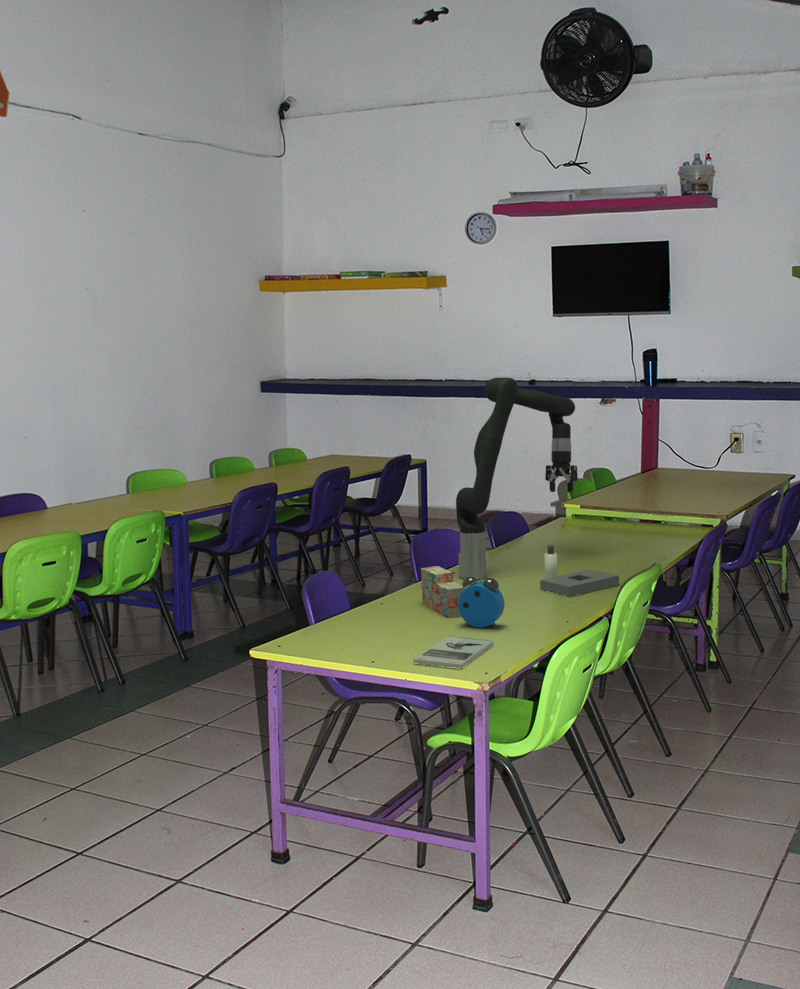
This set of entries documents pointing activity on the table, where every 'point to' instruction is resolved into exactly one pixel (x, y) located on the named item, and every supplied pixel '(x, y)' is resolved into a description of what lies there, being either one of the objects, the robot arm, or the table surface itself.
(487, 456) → the robot arm
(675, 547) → the table surface
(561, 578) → the socket plate
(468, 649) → the book
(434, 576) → the stack of blocks
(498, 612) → the alarm clock
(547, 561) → the plug
